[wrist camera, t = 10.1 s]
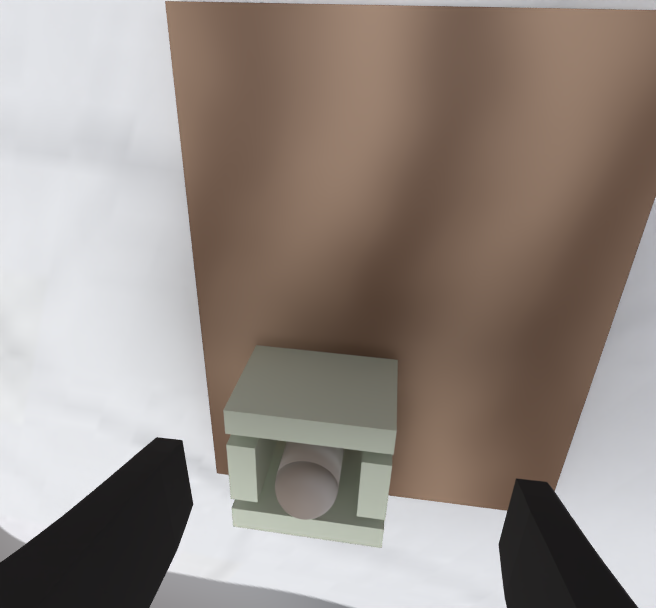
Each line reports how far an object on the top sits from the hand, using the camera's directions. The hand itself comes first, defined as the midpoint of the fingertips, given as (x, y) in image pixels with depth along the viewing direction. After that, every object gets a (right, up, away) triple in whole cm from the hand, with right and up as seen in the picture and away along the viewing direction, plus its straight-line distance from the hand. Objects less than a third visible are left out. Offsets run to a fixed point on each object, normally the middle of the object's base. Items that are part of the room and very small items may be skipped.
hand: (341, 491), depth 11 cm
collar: (0, 0, +10) cm, 10 cm away
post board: (+2, +4, +8) cm, 9 cm away
